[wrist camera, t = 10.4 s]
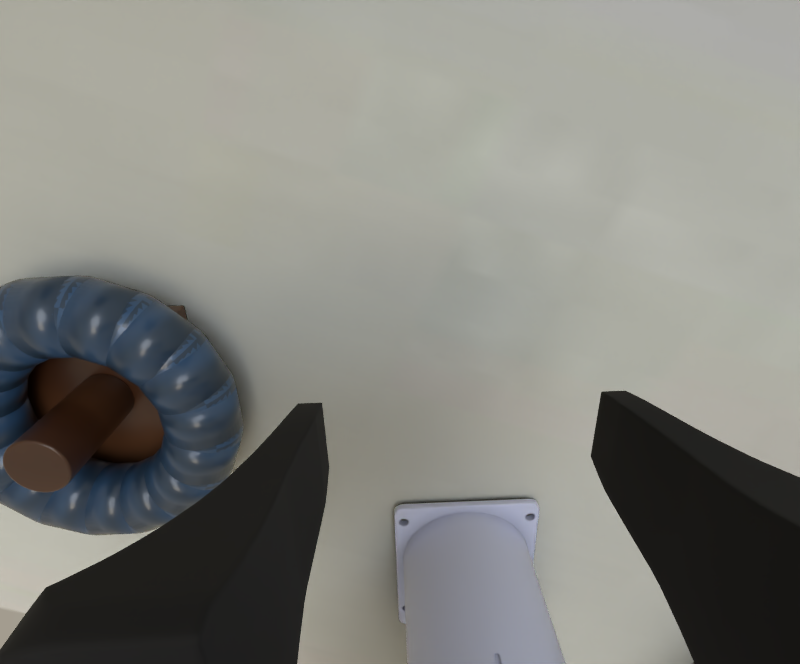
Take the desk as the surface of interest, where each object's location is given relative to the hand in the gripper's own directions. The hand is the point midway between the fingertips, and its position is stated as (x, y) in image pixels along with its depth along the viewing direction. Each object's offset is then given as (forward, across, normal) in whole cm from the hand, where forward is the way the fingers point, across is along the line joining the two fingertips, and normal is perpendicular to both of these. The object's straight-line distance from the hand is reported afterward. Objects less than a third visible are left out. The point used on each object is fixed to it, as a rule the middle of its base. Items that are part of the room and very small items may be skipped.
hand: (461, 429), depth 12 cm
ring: (+8, +15, +4) cm, 17 cm away
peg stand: (+10, +15, +4) cm, 19 cm away
